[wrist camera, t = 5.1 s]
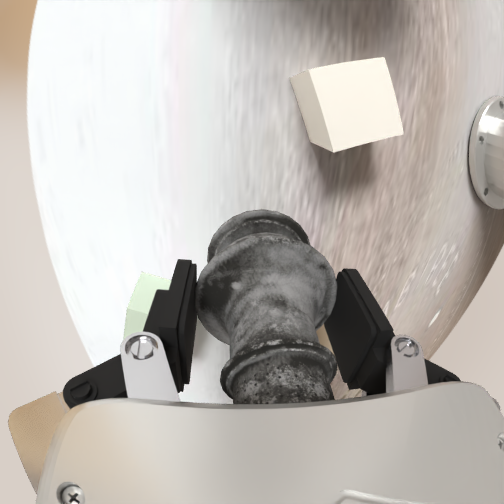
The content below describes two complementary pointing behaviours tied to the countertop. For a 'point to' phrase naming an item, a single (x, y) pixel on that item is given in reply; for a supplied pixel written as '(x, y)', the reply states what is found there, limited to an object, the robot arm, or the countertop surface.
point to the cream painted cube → (348, 103)
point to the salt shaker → (268, 309)
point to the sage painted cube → (142, 301)
